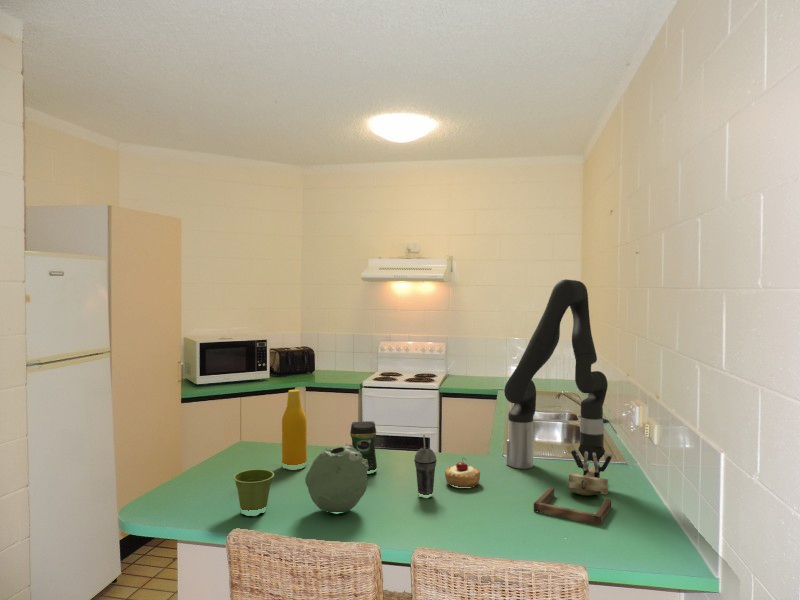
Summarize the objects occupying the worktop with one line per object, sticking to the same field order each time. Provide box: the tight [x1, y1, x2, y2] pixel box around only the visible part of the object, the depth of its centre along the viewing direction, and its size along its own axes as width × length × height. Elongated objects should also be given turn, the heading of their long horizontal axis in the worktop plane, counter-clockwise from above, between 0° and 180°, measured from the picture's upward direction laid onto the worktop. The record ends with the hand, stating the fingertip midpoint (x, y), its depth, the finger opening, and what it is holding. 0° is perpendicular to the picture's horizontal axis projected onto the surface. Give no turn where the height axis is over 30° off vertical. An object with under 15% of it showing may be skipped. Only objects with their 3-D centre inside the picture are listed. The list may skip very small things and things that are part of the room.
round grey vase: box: [304, 443, 369, 513], centre depth 162 cm, size 16×19×20 cm
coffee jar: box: [349, 420, 378, 471], centre depth 199 cm, size 10×8×19 cm
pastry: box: [444, 457, 481, 487], centre depth 186 cm, size 12×12×9 cm
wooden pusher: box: [568, 466, 609, 495], centre depth 183 cm, size 12×12×4 cm
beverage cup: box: [413, 434, 437, 495], centre depth 175 cm, size 7×7×20 cm
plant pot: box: [233, 468, 275, 511], centre depth 162 cm, size 12×12×11 cm
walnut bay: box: [533, 487, 612, 527], centre depth 164 cm, size 19×16×2 cm
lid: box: [566, 480, 601, 497], centre depth 174 cm, size 11×10×5 cm
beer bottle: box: [281, 389, 308, 465], centre depth 205 cm, size 9×9×29 cm
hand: (591, 481), depth 183 cm, fingers closed on wooden pusher, 2 cm apart
